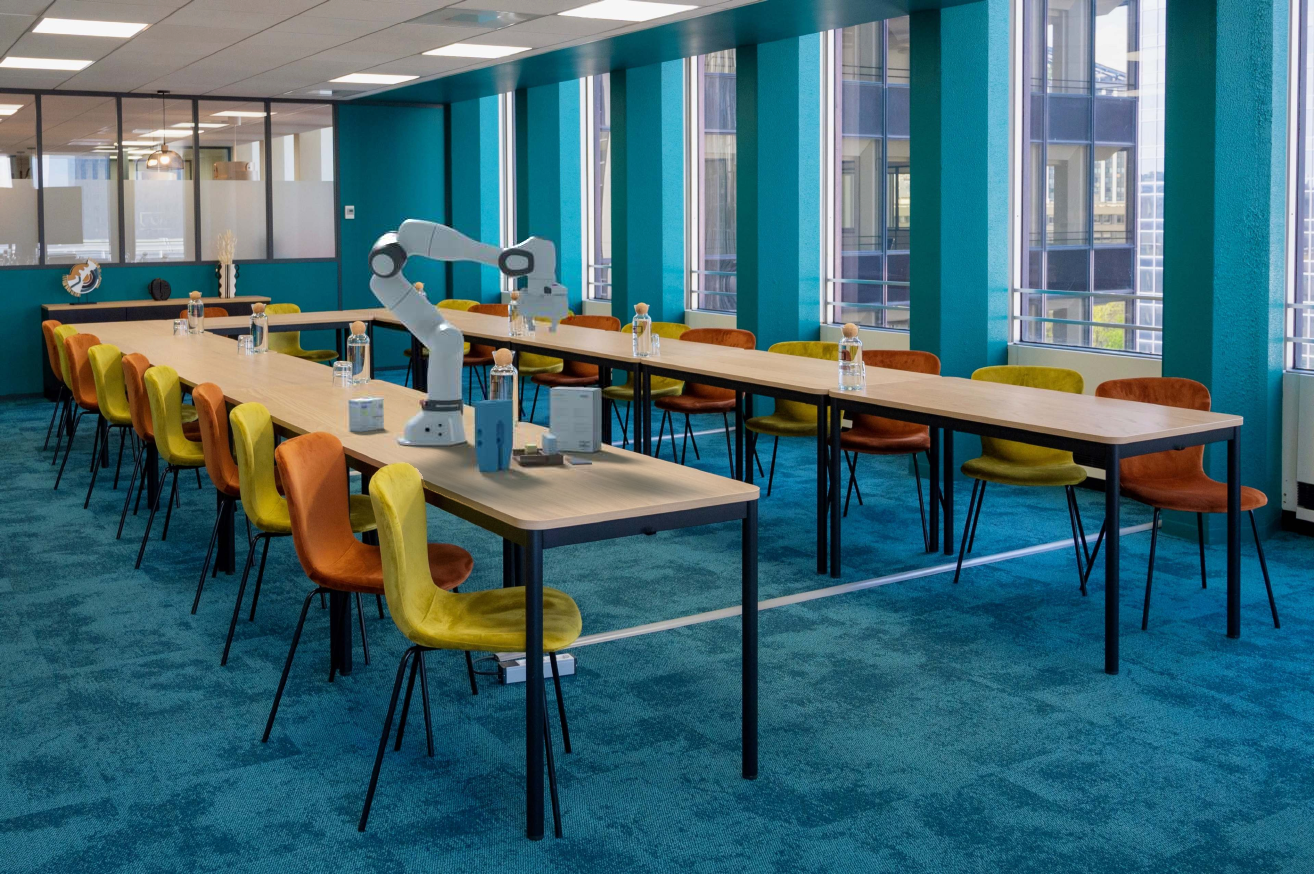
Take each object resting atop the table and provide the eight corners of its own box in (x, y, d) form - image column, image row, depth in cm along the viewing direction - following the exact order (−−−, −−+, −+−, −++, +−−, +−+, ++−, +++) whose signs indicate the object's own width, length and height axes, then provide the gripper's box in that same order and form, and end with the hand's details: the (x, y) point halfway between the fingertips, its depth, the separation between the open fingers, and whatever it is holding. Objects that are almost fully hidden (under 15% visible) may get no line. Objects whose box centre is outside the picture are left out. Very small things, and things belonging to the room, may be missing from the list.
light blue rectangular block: (548, 459, 375) (548, 438, 374) (542, 454, 384) (542, 433, 383) (556, 459, 376) (556, 438, 375) (550, 454, 385) (550, 433, 384)
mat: (572, 464, 375) (572, 463, 375) (564, 459, 384) (564, 457, 384) (591, 464, 376) (591, 462, 376) (583, 458, 386) (583, 457, 386)
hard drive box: (602, 449, 403) (602, 388, 400) (593, 453, 395) (593, 390, 392) (557, 446, 408) (558, 385, 405) (548, 450, 400) (548, 388, 397)
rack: (512, 458, 383) (512, 448, 383) (554, 457, 387) (554, 447, 387) (520, 466, 371) (520, 456, 371) (563, 464, 375) (563, 454, 374)
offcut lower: (527, 457, 378) (527, 451, 378) (524, 455, 382) (524, 449, 382) (537, 457, 379) (537, 451, 379) (534, 455, 383) (534, 449, 383)
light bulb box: (371, 426, 444) (371, 396, 442) (384, 428, 440) (384, 398, 438) (348, 430, 435) (347, 399, 434) (361, 432, 431) (360, 401, 430)
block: (501, 465, 371) (501, 398, 368) (514, 467, 369) (514, 400, 366) (473, 470, 362) (473, 402, 359) (486, 472, 359) (485, 403, 356)
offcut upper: (527, 451, 378) (527, 445, 378) (524, 449, 382) (524, 443, 382) (537, 451, 379) (537, 445, 379) (534, 449, 383) (534, 443, 383)
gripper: (512, 287, 403) (512, 330, 405) (557, 289, 389) (557, 333, 392) (526, 287, 407) (526, 329, 409) (571, 289, 394) (571, 332, 396)
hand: (542, 331), depth 400 cm, fingers open, 8 cm apart
